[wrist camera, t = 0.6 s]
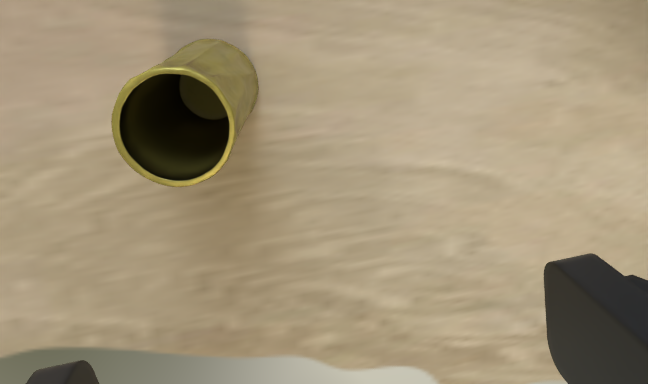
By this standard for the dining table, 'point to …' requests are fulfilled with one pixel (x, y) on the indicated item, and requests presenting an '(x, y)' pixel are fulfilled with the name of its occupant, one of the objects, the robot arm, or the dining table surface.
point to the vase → (185, 113)
